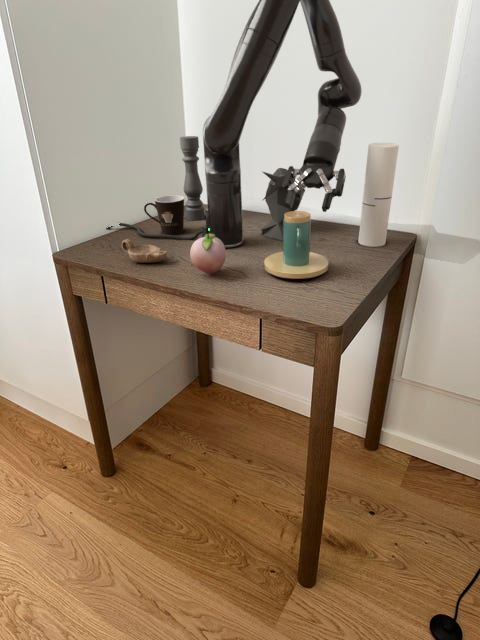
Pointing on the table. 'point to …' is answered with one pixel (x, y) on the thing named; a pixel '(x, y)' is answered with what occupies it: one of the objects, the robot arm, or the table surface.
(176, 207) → the coffee mug
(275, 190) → the narwhal figurine
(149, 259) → the oil lamp
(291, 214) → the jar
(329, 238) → the table surface
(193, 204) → the candle holder
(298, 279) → the turntable base
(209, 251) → the decorative fruit
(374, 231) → the cylindrical container
